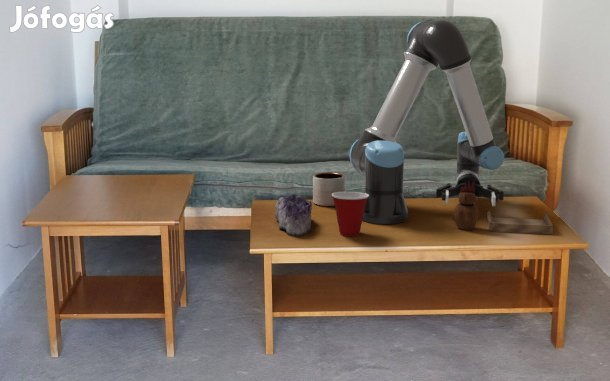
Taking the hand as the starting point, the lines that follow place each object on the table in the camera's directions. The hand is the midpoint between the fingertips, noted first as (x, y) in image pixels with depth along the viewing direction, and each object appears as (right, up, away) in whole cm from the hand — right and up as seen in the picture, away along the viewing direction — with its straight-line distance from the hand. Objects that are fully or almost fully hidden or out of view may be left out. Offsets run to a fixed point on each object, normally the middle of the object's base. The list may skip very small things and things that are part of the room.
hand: (470, 200), depth 207 cm
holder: (+15, -8, +1) cm, 17 cm away
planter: (-41, -1, +30) cm, 51 cm away
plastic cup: (-36, -10, -4) cm, 38 cm away
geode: (-52, -8, +3) cm, 53 cm away
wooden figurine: (-2, -8, 0) cm, 9 cm away
